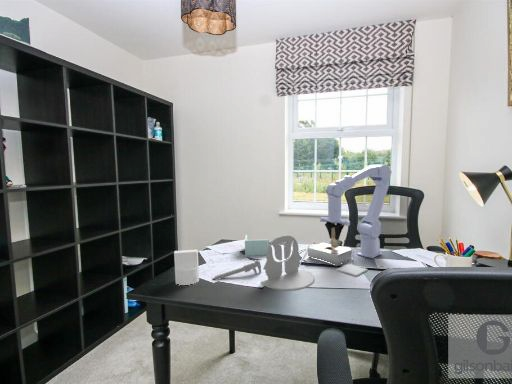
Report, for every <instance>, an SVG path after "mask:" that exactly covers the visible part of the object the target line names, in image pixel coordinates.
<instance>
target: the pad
mask: <svg viewBox="0 0 512 384" xmlns="http://www.w3.org/2000/svg"><path fill="white" fill-rule="evenodd" d="M367 271H368V268H364V267H361V266H357V265H355V264H354V265H353V264H351V263H347V264H343V266H342V265H341V266H340V267H338V268H336V272H340V273H344V274H347V275H349V276H353V277H358V276H360V275H362V274H364V273H366V272H367Z"/></svg>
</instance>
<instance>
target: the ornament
mask: <svg viewBox="0 0 512 384" xmlns="http://www.w3.org/2000/svg"><path fill="white" fill-rule="evenodd" d="M282 244H284V245H283V249H282ZM273 249H274V253H273ZM265 256H266V257H265V258H266V261H265V264H264V266H263V268H262V269H263V270H264V271H265V276H266V277H267V279H265V280H262V281H260V284H261V283H262V284H261V285H263V286H264V287H267V288H269V289H273V290H277V291H298V290H304V289H306V288H309V287H310V286H312V285H313V284H314V283H315V280H316V279H315V277H314V275H313V273H311V272H309V271H307V270H305V269H303V268H302V269H299V267H300V264H301V262H300V261H302V257H301V255H300V253H299V244H298V241H297V240H296V238H295V237H294V236H291V235H280V236H277V237H275V238H274V239H273V240H271V241H270V242H269V246H268V249H267V253H266V255H265ZM274 256H275V258H274ZM283 257H284V260H283ZM275 259H277V260H278V261H276V260H275ZM283 261H284V263H283ZM283 264H284V273H285V274H283Z"/></svg>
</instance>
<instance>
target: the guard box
mask: <svg viewBox="0 0 512 384" xmlns="http://www.w3.org/2000/svg"><path fill="white" fill-rule="evenodd" d="M328 249H330V250H328ZM352 252H353V249H352V248H348V247H345V246H339V247H337V248H333V247H331V243H327V242H320V243H318V244H315V245H312V246H309V247H307V257H308V256H310V257H313V258H317V259H321V260H324V261H327V262H330V263H332V264H335V265H334V266H335V267H338V265H339V264H341V263H343V264H345V263H344V262H346V261H348V262H350V261H352V259H353V256H352V255H353V253H352ZM349 260H350V261H349ZM346 263H347V262H346ZM341 265H342V264H341ZM339 266H340V265H339Z"/></svg>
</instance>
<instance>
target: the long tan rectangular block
mask: <svg viewBox="0 0 512 384" xmlns="http://www.w3.org/2000/svg"><path fill="white" fill-rule="evenodd" d="M339 240H340V238H339V239H338V240H335V228H334V227H333V228H331V239H330V241H331V242H330V244H331V247H333V248H337V247H339V244H340V243H339V242H340V241H339Z"/></svg>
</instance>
